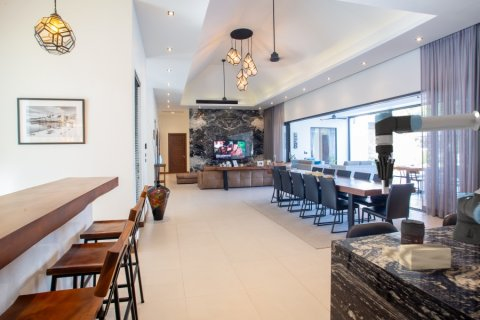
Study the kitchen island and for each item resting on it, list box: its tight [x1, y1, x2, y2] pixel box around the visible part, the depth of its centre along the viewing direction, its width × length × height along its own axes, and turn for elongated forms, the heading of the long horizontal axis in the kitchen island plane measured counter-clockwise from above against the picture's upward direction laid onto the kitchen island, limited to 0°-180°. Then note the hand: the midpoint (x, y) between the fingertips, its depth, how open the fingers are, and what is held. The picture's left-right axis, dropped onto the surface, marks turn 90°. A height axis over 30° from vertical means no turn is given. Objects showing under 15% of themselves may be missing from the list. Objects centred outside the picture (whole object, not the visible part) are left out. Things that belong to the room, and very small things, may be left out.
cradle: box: [381, 243, 452, 271], centre depth 110 cm, size 17×16×7 cm
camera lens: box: [399, 218, 426, 246], centre depth 111 cm, size 8×8×15 cm
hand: (385, 193), depth 135 cm, fingers closed
